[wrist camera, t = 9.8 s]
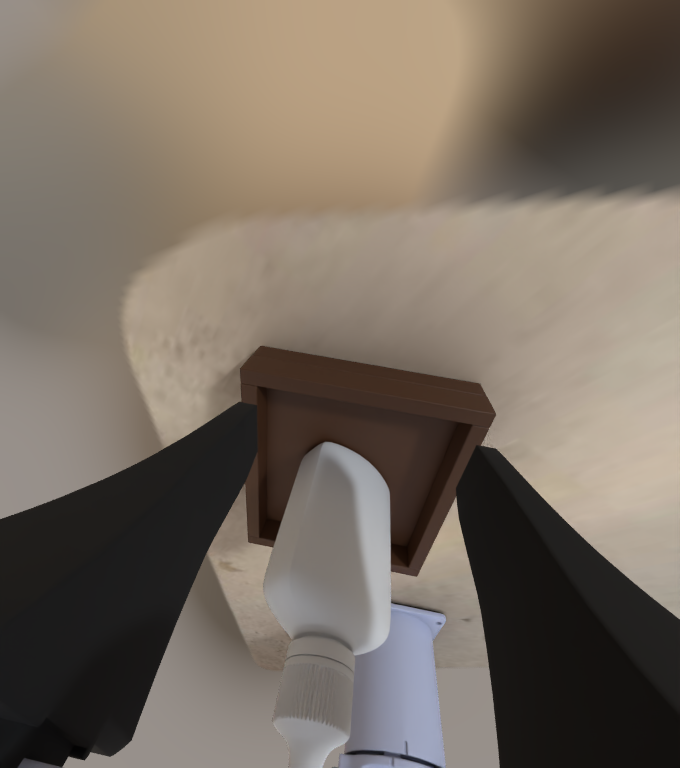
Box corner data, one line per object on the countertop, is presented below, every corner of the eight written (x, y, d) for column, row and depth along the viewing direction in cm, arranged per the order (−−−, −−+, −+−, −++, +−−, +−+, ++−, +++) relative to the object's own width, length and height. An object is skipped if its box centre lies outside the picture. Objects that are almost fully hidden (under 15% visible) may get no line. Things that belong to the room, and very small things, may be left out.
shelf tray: (414, 539, 23) (417, 577, 20) (261, 509, 23) (247, 542, 21) (480, 383, 16) (496, 414, 13) (260, 345, 16) (239, 368, 14)
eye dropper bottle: (328, 507, 20) (269, 818, 10) (297, 442, 18) (175, 768, 8) (394, 499, 19) (403, 842, 9) (370, 429, 17) (345, 794, 6)
